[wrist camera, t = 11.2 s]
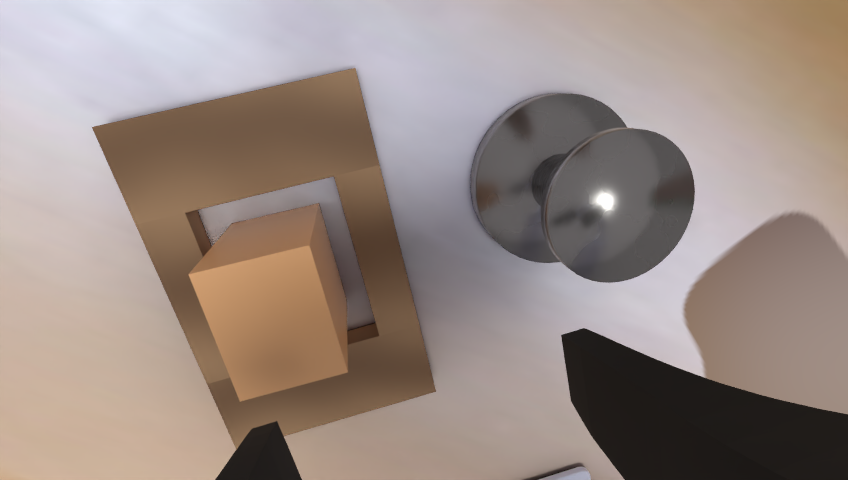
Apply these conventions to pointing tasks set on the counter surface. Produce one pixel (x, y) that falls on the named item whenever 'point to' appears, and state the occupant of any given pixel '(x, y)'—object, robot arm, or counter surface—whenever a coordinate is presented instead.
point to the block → (275, 302)
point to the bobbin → (581, 188)
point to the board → (260, 173)
